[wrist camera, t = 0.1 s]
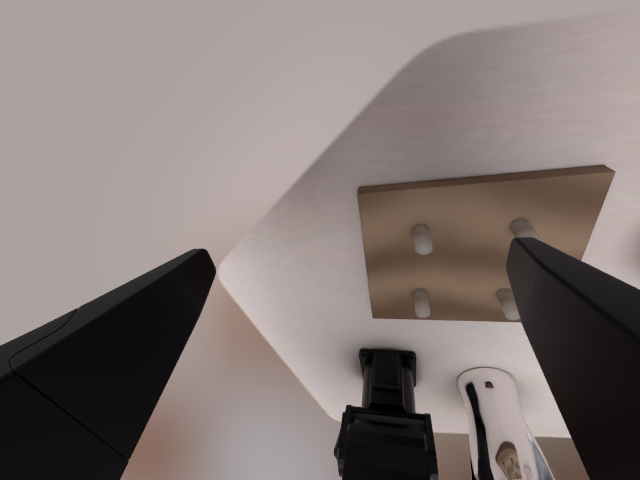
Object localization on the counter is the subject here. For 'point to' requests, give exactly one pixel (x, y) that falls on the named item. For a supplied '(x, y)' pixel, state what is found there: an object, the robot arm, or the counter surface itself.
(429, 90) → the counter surface
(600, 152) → the counter surface
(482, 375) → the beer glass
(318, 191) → the counter surface
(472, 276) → the pin board
